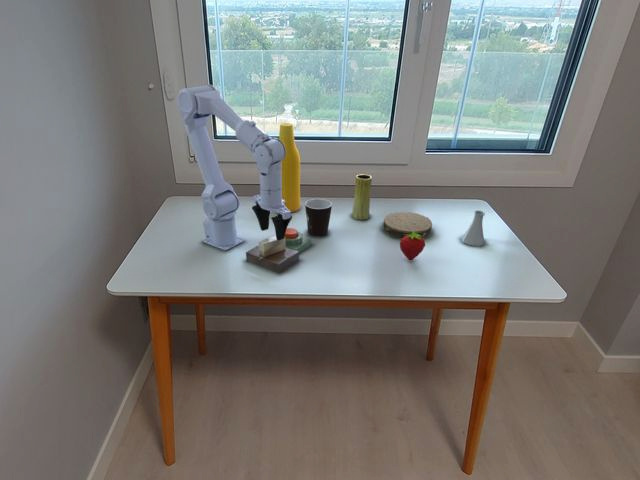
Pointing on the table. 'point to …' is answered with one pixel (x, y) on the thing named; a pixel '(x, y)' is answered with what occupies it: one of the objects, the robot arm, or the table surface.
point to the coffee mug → (318, 216)
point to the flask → (475, 230)
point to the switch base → (273, 259)
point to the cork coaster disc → (407, 224)
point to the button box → (297, 243)
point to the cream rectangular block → (271, 246)
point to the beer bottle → (290, 168)
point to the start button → (291, 233)
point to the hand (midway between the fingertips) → (272, 234)
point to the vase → (362, 197)
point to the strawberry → (412, 245)
